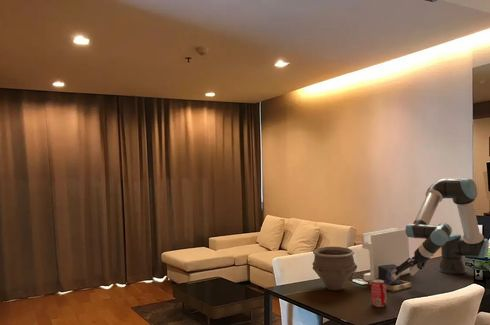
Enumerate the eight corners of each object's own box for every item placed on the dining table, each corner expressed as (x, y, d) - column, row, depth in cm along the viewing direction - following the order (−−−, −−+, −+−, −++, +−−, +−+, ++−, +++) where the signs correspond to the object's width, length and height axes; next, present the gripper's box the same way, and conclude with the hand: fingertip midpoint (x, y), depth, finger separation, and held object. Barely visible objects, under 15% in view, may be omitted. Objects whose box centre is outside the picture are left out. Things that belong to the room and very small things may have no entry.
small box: (385, 287, 226) (384, 268, 227) (378, 284, 233) (377, 265, 233) (401, 284, 229) (400, 266, 230) (393, 282, 236) (393, 263, 236)
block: (374, 282, 239) (372, 235, 239) (363, 280, 245) (361, 233, 246) (410, 272, 258) (407, 228, 259) (398, 270, 265) (396, 227, 266)
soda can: (383, 302, 203) (382, 278, 203) (389, 307, 196) (387, 282, 196) (369, 303, 202) (368, 279, 203) (374, 308, 195) (373, 283, 196)
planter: (358, 283, 238) (356, 246, 239) (358, 296, 215) (356, 254, 215) (315, 282, 245) (314, 245, 245) (310, 293, 221) (309, 253, 222)
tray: (385, 280, 242) (385, 276, 242) (411, 287, 227) (410, 282, 227) (368, 284, 236) (368, 280, 236) (393, 291, 220) (393, 287, 220)
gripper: (412, 261, 202) (390, 285, 215) (444, 255, 214) (421, 277, 226) (403, 249, 207) (382, 273, 219) (435, 243, 218) (413, 266, 231)
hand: (402, 275), depth 223 cm, fingers open, 13 cm apart
